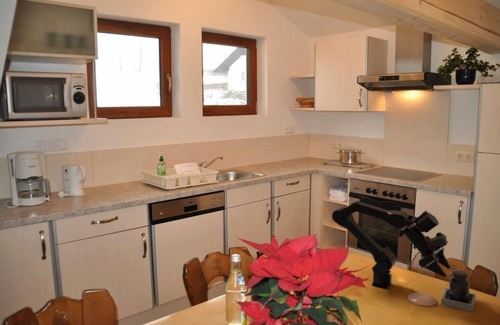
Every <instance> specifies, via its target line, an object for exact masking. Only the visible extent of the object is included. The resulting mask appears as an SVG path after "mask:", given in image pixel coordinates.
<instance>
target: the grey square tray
mask: <svg viewBox="0 0 500 325" xmlns="http://www.w3.org/2000/svg"><path fill="white" fill-rule="evenodd" d="M442 293H443V294H442V295H441V299H440V300H441V301H440V305H441V306H444V307H448V308H453V309H458V310H461V311H466V312H470V313H474V309H475V304H476V295H477V294H475V293H472V292H471V293H470V292H469V301H471V303H468V304H467V303H463V302H458V301H454V300H449V298H447V296H448V297H449V287H446V288H444V291H443V292H442Z"/></svg>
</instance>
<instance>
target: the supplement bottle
mask: <svg viewBox="0 0 500 325" xmlns="http://www.w3.org/2000/svg"><path fill="white" fill-rule="evenodd" d="M470 285H471V282H470V281H469V280H468V272H466V271H464V270H460V269H457V270H456V269H455V270H453V272H452V277H451V278H450V279H449V285H448V286H449V287H448V289H449V296H448V299H449V300H454V301H458V302H463V303H467V304H470V303H469V302H470V300H469V293H470V289H471V288H470V287H471V286H470Z"/></svg>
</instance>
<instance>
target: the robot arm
mask: <svg viewBox="0 0 500 325" xmlns="http://www.w3.org/2000/svg"><path fill="white" fill-rule="evenodd" d="M355 213H359V214H363V215H366V216H369V217H372V218H375V219H378V220H381V221H384V222H385V223H386V224H388V225H389V226H390V227H391V226H392V227H393V228H395V229H397V230H398V232H399V235H398V238H401V237H403V236H405V237H406V239H407V240H408V241H409V242H410V243H411V244H412V245H413V249H414V250H417V251H418V252H419V253H420V254H421V255H420V257H421V258H419V260H418V265H419V266H420V268H421V269H426V270H428V271H430V272H433V273H435V274H436V275H439V276H440V277H443V278H445V277H447V274H446V272H445V271H444V269H443V268H442V266H443V267H445V268H446V269H447V270H448V269H449V270H450V269H451V265H450V263H449V261H448V259H447V257H446V255H445V247H446V246H447V245H448V243H449V242H448V239H447V235H445V234H443V233H442V232H441V231H439V232H437V233H436V234H435V236H434V237H430V236H429V235H425V234H424V233H426V234H427V233H429V232H430V231H431V230H433V229H434V228H436V227H437V226H439V224H440V223H439V221H438V219H437V218H436V216H435V215H433V214H432V213H430V212H428V211H427V210H424V211H423V212H422V213H421V214H420V215H418V216H414V215H410V214H408V213H407V212H406V211H401V210H396V209H395V210H394V209H393V210H389V209H385V208H381V207H379V206H376V205H375V206H374V205H372V204H369V203H365V202H362V201H360V200H354V202H352V203H351V204H349V205H348V206H346V207H343V206H342V207H339V208H338V209H336V210H334V211H333V212H332V214H331V219H332V221H333V222H334V223H335V224H337V225H339V226H340V227H341V228H344V229H346V230H347V231H348V232H350V234H351V235H352V236H353V237H354V238H355V239H357V241H358V242H359V243H360V244H361V245H362V246H363V247H364V248H365V249H366V250H367V251H368V252H369V253H370V254H371V255H372V258H373V260H374V263H375V264H373V266H372V267H371V269H372V273H373V274H372V283H371V286H372V287H376V288H377V287H378V288H382V289H387V290H388V289H389V287H390V286H391V285H392V281H393V280H392V278H393V275H392V273H391V269H392V268H393V266H394V265H396V263H397V257H396V255H395V252H393V251H392V250H391V249H390V248H389V246H385V247H383V246H381V245H379V244H378V243H377V242H376V241H375V240H374V239H373V238H372V236H370V235H369V234H368V233H367V232H366V231H365V229H363V227H361V226H360V225H359V224H358V223H357V222H356V220H355V218H354V216H353V214H355Z"/></svg>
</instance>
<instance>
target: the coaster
mask: <svg viewBox="0 0 500 325" xmlns="http://www.w3.org/2000/svg"><path fill="white" fill-rule="evenodd" d="M407 295H408V297H407V299H408V301H409V302H410V303H411V304H413V305H416V306H420V307H425V308H426V307H427V308H429V307H430V308H431V307H434V306H436V304H437V299H436V297H434V296H433V295H431V294H428V293H425V292H411V293H409V294H407Z"/></svg>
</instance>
